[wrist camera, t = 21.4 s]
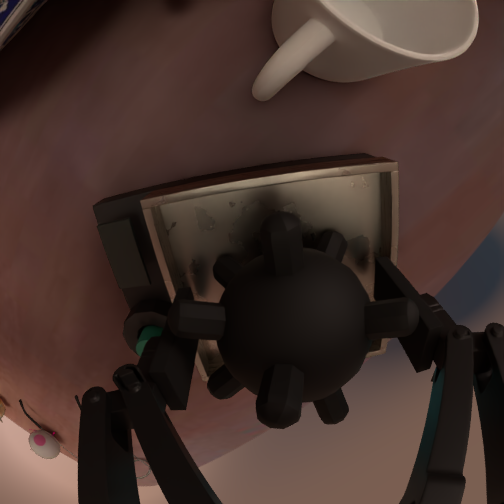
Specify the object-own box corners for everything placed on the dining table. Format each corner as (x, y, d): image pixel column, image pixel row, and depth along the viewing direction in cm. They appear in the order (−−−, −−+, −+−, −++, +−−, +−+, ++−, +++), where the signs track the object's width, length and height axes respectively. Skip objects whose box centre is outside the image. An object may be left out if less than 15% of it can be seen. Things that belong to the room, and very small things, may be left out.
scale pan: (157, 365, 22) (151, 383, 20) (92, 206, 16) (77, 216, 14) (377, 336, 21) (385, 353, 19) (383, 156, 15) (398, 161, 13)
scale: (148, 338, 25) (138, 364, 22) (96, 200, 20) (73, 215, 16) (366, 309, 24) (380, 334, 21) (365, 153, 18) (386, 160, 15)
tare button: (148, 348, 22) (142, 364, 20) (137, 325, 21) (130, 340, 19) (175, 347, 21) (171, 363, 20) (165, 323, 20) (160, 339, 19)
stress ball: (25, 410, 34) (12, 435, 30) (53, 438, 33) (39, 464, 29) (45, 417, 40) (33, 439, 36) (72, 441, 39) (59, 464, 35)
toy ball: (325, 402, 19) (153, 410, 15) (325, 263, 22) (165, 237, 18) (451, 420, 10) (191, 497, 5) (439, 212, 13) (212, 128, 9)
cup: (407, 41, 15) (500, 12, 5) (301, 146, 18) (351, 172, 9) (322, -35, 12) (367, -111, 3) (205, 66, 16) (161, 17, 7)
